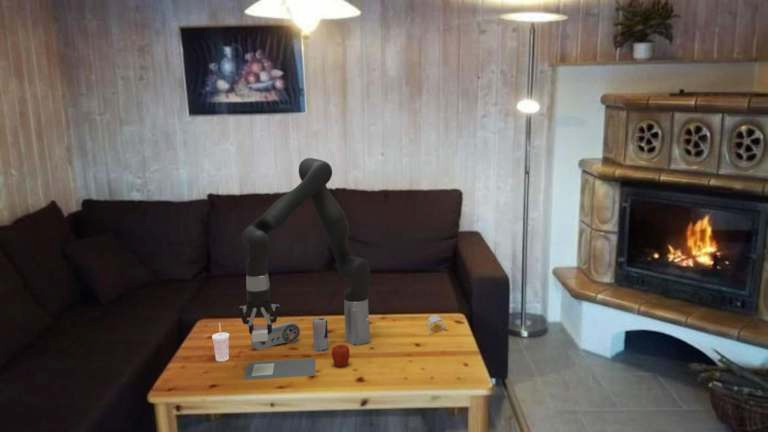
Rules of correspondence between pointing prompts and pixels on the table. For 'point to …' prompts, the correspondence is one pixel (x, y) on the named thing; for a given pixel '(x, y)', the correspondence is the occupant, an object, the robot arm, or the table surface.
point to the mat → (280, 368)
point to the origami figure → (435, 319)
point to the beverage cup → (221, 345)
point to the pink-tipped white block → (260, 333)
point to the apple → (340, 355)
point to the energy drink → (320, 334)
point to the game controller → (279, 335)
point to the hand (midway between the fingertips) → (260, 334)
